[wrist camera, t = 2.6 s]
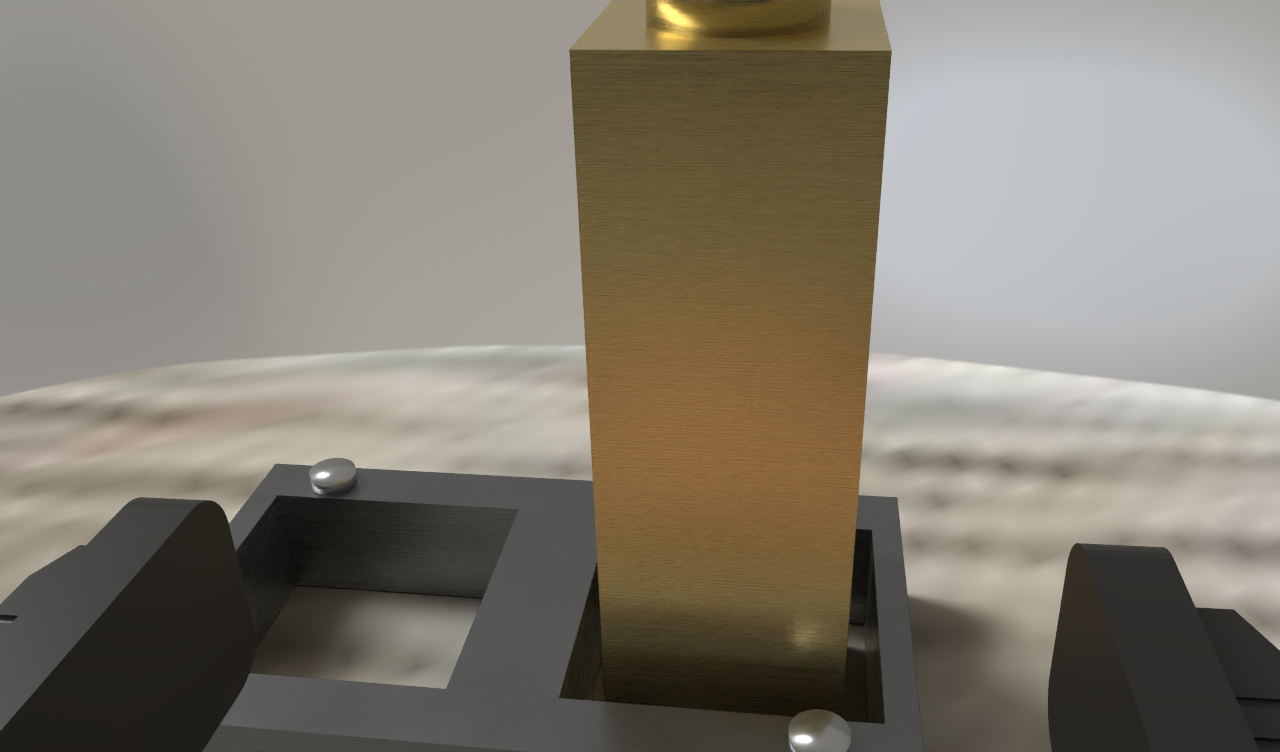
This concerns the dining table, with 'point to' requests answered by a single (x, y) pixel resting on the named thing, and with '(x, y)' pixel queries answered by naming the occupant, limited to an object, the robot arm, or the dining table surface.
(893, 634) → the grey tray with studs
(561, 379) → the dining table surface
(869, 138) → the tan tall block
